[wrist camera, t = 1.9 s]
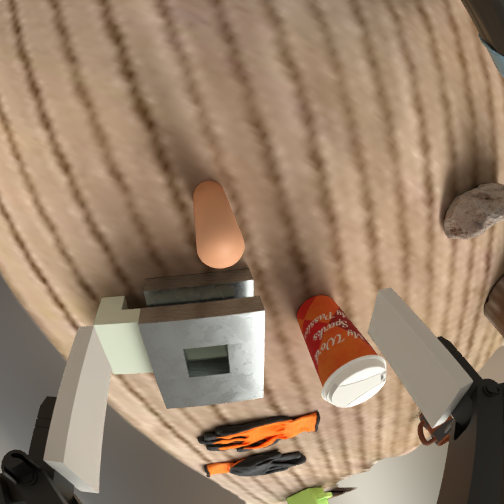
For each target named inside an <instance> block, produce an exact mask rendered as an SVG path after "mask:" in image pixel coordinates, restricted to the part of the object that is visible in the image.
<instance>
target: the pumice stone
mask: <svg viewBox="0 0 504 504" xmlns="http://www.w3.org/2000/svg"><path fill="white" fill-rule="evenodd" d="M502 221H504V185H502V184H499V183H497V184H495V183H488V184H481V185H479V186H478V187H477V188H474V189H472V190H470V191H467V192H465V193H463V194H462V195H460V196H457V197H455V198H454V200H453V201H452V203H451V204H450V206H449V209H448V210H447V213H446V218H445V220H444V231H445V234H446V235H447V237H448V238H455V239H470V238H473V237H477V236H480V235H481V234H483V233H484V232H485V230H487V229H489V228H490V227H491V226H493V225H494V224H496V223H498V222H502Z"/></svg>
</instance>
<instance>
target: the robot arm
mask: <svg viewBox="0 0 504 504" xmlns="http://www.w3.org/2000/svg"><path fill="white" fill-rule="evenodd" d="M461 1H462V3H463V5H464V6H465V8H466V10H467V11H468V13H469V15H470V17H471V19H472V20H473V22H474V24H475V26H476V28H477V30H478V32H479V37H480V40H481V41H482V43H483V44H484V45H485V47H486V48H487V50H488V52H489V53H490V55H491V57H492V59H493V62H494V64H495V66H496V68H497V69H498V71H499V72H500V74H501V75H502V76H503V77H504V0H461ZM368 334H369V335H370V337H371V338H372V340H373V341H374V342H375V344H376V345H377V347H378V348H379V350H380V351H381V353H382V354H383V355H384V357H385V358H386V360H387V361H388V363H389V364H390V366H391V367H392V368H393V370H394V371H395V373H396V374H397V376H398V377H399V379H400V380H401V382H402V383H403V385H404V386H405V388H406V389H407V391H408V392H409V394H410V395H411V397H412V398H413V400H414V401H415V403H416V404H417V406H418V407H419V409H420V410H421V412H422V414H423V415H424V417H425V418H426V420H427V421H428V423H429V424H430V426H431V428H434V427H436V426H438V425H440V424H442V423H444V422H445V421H446V420H447V419H448V417H449V416H450V415H451V414H452V416H453V417H454V419H453V420H452V421H451V423H450V424H449V425H448V426H447V428H446V429H445V431H444V433H447V432H448V430H449V429H450V428H451V431H450V433H449V434H450V438H449V445H448V452H447V458H446V464H445V469H444V474H443V479H442V484H441V489H440V493H439V497H438V501H437V504H504V383H501V384H498V383H497V382H495V381H493V380H491V379H482V378H481V377H480V376H479V375H478V373H477V372H476V371H475V370H474V369H473V368H472V366H471V365H470V364H469V363H468V362H467V360H466V359H465V358H464V357H462V355H461V353H460V352H459V351H457V349H456V348H455V347H454V345H453V344H452V343H451V342H450V341H448V340H446V339H445V338H443V337H442V336H440V337H438V338H437V337H436V336H435V335H434V334H433V333H432V332H431V330H430V329H429V328H428V327H427V326H426V325H425V324H424V323H423V322H422V320H421V319H420V318H419V317H418V316H417V315H416V314H415V313H414V312H413V311H412V309H411V308H410V307H409V306H408V305H407V304H406V303H405V302H404V301H403V300H402V299H401V298H400V297H399V296H398V294H397V293H396V292H395V291H394V290H393V289H392V288H386V289H381V290H378V294H377V298H376V303H375V307H374V311H373V315H372V318H371V322H370V326H369V330H368ZM111 372H112V368H111V365H110V363H109V361H108V359H107V356H106V354H105V352H104V349H103V347H102V345H101V342H100V340H99V337H98V335H97V332H96V330H95V327H94V326H86V327H79V328H78V331H77V334H76V337H75V340H74V342H73V345H72V349H71V352H70V355H69V358H68V361H67V365H66V368H65V371H64V374H63V378H62V381H61V385H60V389H59V392H58V396H57V397H46V399H45V400H44V402H43V403H42V404H41V406H40V409H39V413H38V416H37V417H38V419H37V420H36V424H35V428H34V432H33V436H32V440H31V445H30V449H29V455H27V454H26V453H25V452H23V451H21V450H12V451H10V452H8V453H7V454H6V455H5V456H4V458H3V460H2V465H1V469H2V473H1V474H0V504H82V503H81V502H80V500H79V499H78V498H77V496H76V495H75V494H74V493H73V492H74V486H75V487H76V488H77V489H79V490H80V491H85V492H94V493H98V492H99V476H100V461H101V449H102V438H103V429H104V420H105V412H106V405H107V397H108V391H109V384H110V378H111Z"/></svg>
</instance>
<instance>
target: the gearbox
mask: <svg viewBox="0 0 504 504" xmlns="http://www.w3.org/2000/svg"><path fill="white" fill-rule="evenodd" d="M331 496H332V493H331V492H327V493H325V492H324V490H323V488H322V487H321V488H308V489H305V490H303V491H301V492H299V493H297V494H294V495H292V496H290V497H288V498H287V502H288V504H329V503H328V500H327V498H329V497H331Z"/></svg>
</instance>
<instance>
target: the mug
mask: <svg viewBox="0 0 504 504" xmlns="http://www.w3.org/2000/svg"><path fill="white" fill-rule="evenodd" d="M452 420H453V418H452V417H451V415H450V416H449V417H448V419H447V420H446V421H445V422H444V423H442V424H440V425H438V426H436V427H434V428H431V426H430V424H429V423H428V421H427V420H426V418H425V417H424V415H423V414H421V416H420V421H421V422H420V423H419V425H418V435H419V439H420V441H421V442H422V444H424V445H430V444H432V443H433V442H435V443H436V444H437V445H438V446H441V445H443V444H445V443H446V442H448V441H449V438H450V434H449V433H450V431H451V428H450V429H449V430H448V432H447V433H444V431H445V429H446V428H447V426H448V425H449V424H450V423H451V421H452ZM423 426H424V427H425V428H426V429H427V430H428V431H429V433H430V434H431V437H432V439H430V440H429V441H427V440H426V439H425V437H424V434H423Z"/></svg>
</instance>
